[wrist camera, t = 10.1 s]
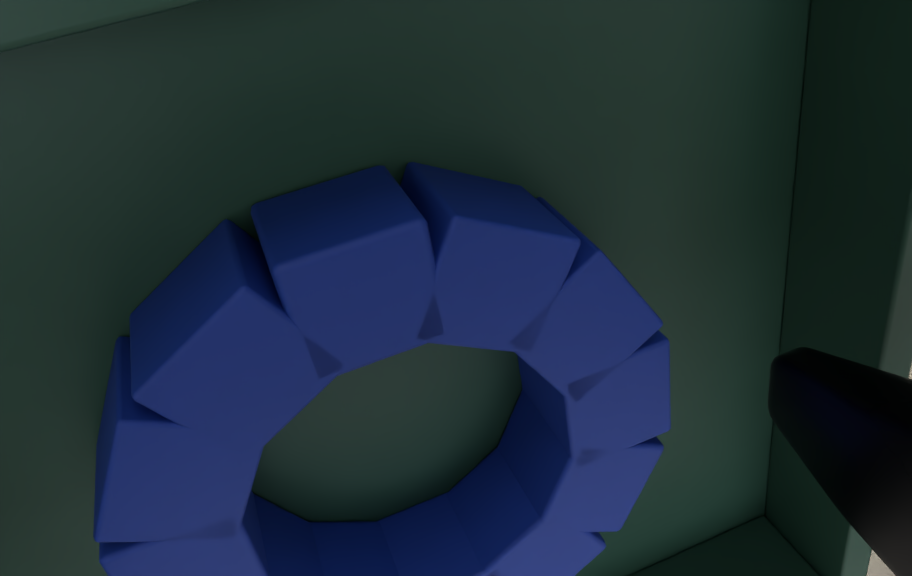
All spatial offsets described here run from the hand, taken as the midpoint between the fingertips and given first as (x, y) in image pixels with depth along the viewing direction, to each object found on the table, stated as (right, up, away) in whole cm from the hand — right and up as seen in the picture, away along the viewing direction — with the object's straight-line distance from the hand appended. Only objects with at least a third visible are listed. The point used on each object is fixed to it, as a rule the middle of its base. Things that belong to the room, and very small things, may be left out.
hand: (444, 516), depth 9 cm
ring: (-1, +1, +2) cm, 2 cm away
